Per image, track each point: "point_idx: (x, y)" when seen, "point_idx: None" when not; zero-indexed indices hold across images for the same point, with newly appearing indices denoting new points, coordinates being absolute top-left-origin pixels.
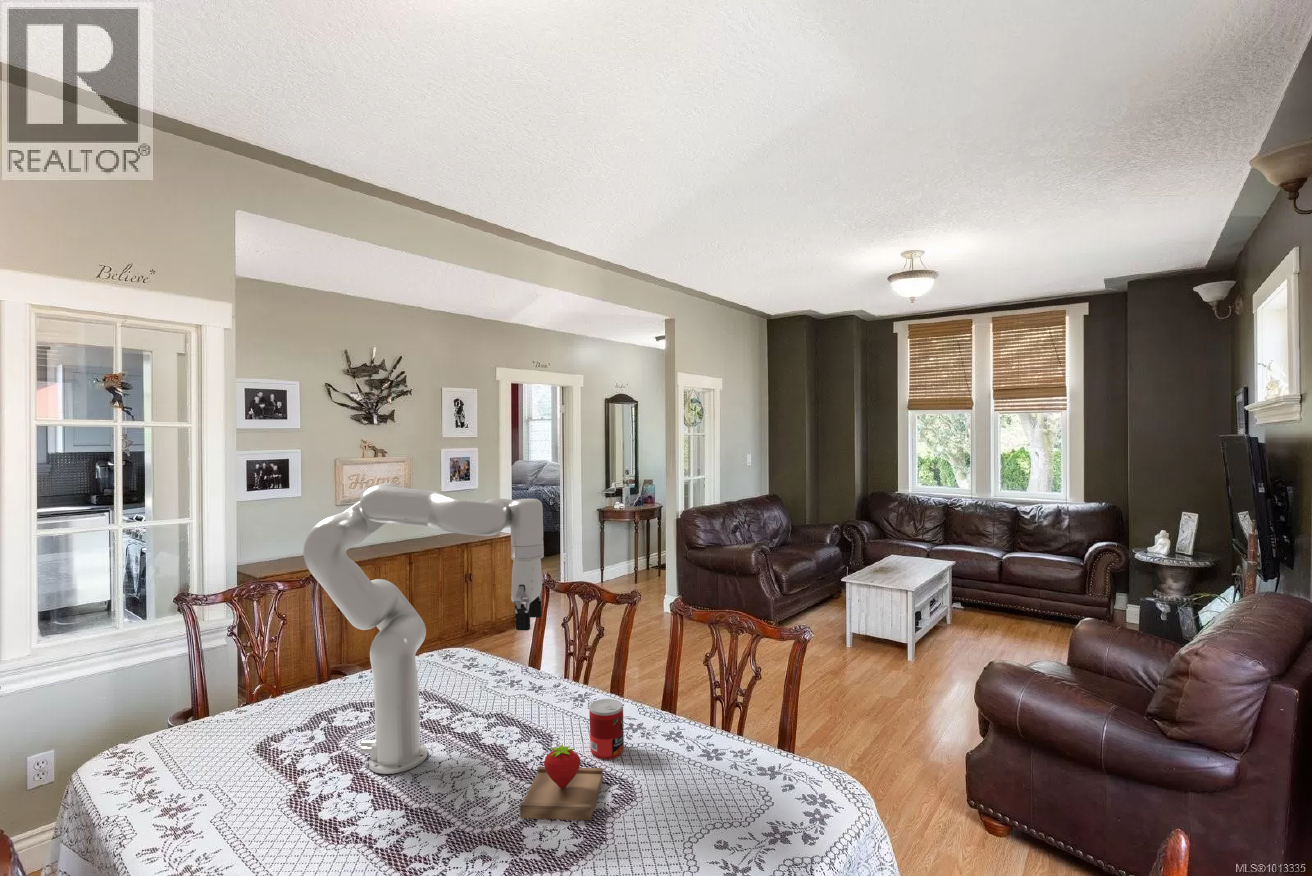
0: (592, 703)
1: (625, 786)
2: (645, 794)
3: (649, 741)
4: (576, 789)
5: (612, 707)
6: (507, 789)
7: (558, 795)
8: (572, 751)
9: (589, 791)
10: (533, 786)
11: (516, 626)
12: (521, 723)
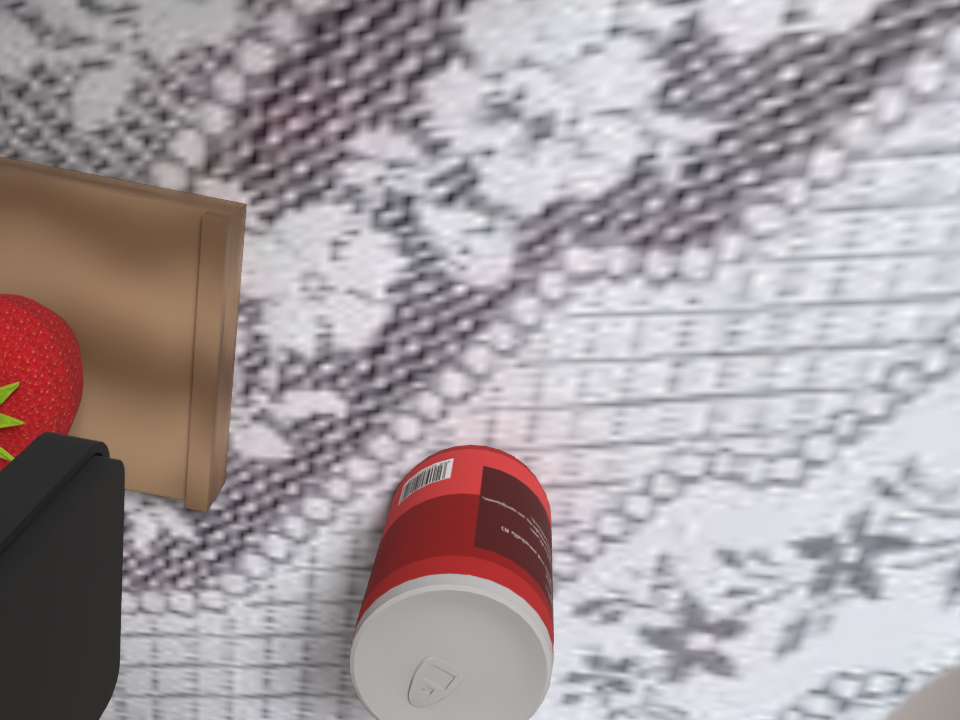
0: (492, 602)
1: (178, 562)
2: (124, 622)
3: None
4: None
5: (433, 695)
6: (150, 44)
7: None
8: (5, 461)
9: None
10: (73, 198)
11: (8, 477)
12: (925, 32)
